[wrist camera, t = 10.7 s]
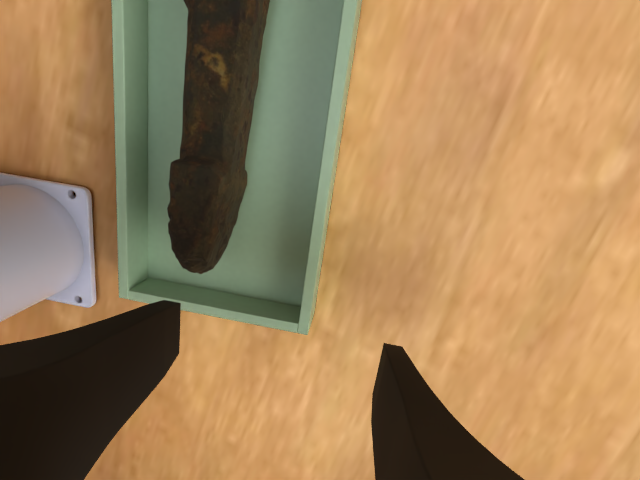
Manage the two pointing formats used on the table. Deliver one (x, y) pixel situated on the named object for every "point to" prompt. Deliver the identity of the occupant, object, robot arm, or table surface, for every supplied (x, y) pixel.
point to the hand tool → (214, 127)
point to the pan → (261, 160)
